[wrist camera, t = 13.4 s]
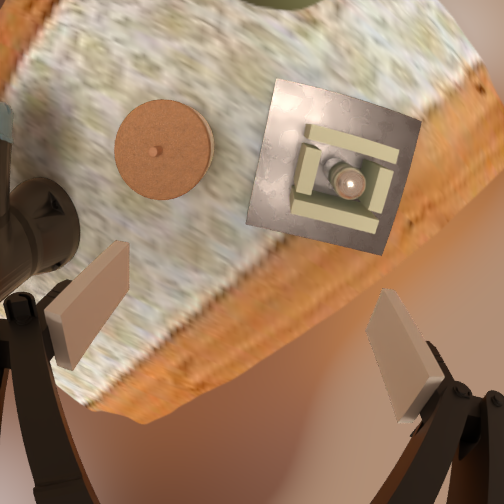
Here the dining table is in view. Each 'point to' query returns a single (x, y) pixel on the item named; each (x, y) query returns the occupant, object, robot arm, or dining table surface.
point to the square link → (333, 206)
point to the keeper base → (287, 155)
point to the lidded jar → (163, 149)
